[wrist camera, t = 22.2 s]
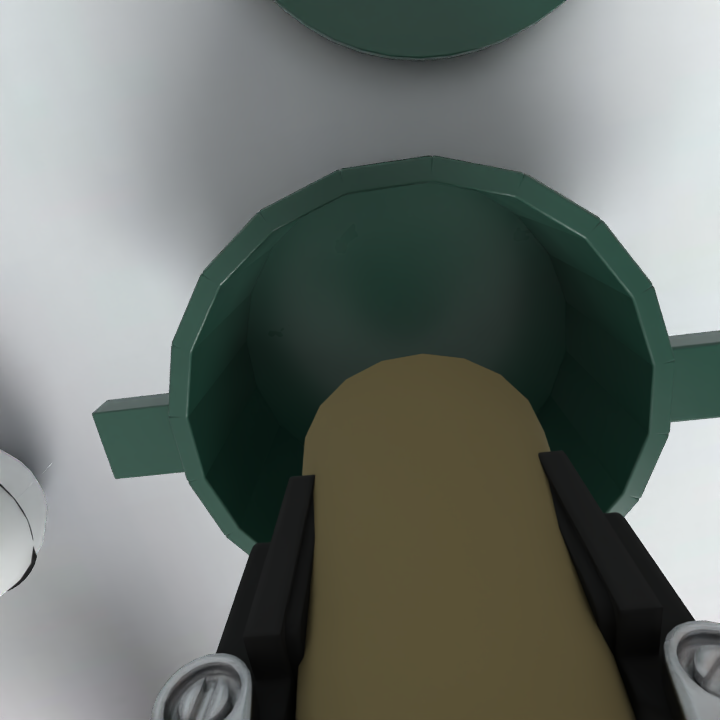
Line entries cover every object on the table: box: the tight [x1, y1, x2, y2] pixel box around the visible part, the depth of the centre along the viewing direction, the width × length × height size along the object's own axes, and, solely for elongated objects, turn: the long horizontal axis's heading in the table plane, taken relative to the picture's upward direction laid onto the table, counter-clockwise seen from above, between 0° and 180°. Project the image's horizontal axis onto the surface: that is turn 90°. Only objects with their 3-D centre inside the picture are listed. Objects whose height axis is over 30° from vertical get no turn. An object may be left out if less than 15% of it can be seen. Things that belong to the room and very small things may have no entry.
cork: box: [295, 354, 636, 720], centre depth 8 cm, size 6×6×11 cm
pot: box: [92, 156, 720, 555], centre depth 18 cm, size 14×20×8 cm
